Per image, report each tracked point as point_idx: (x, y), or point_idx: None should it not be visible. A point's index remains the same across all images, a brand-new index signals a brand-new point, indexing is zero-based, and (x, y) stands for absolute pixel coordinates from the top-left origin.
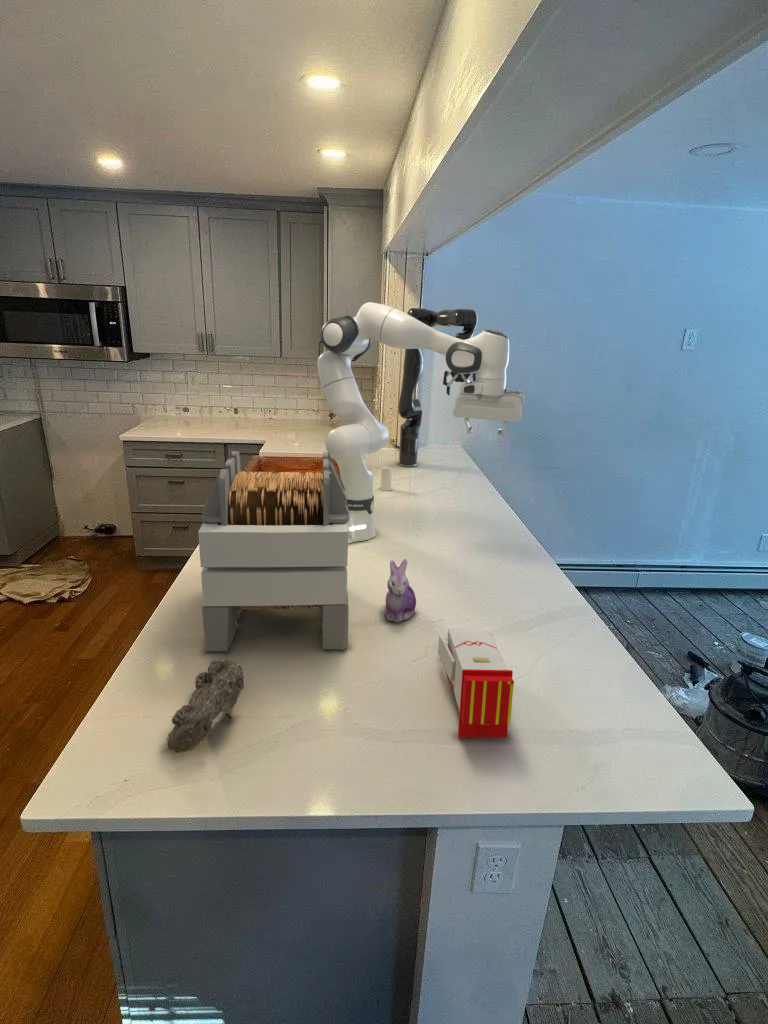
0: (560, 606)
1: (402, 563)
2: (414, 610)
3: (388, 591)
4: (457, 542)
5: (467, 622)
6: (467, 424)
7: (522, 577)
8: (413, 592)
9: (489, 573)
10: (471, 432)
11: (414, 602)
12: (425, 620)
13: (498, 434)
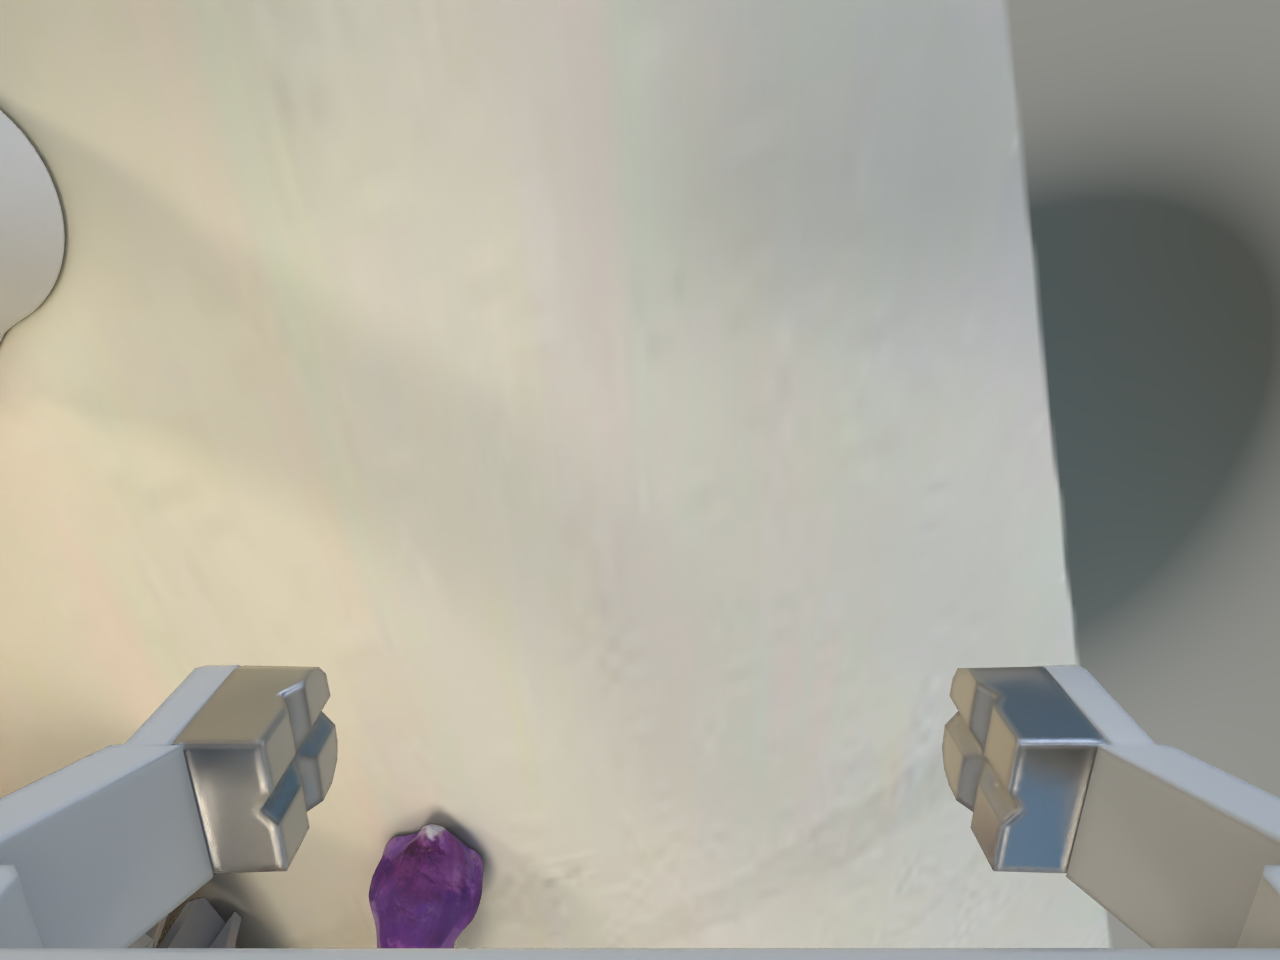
0: None
1: None
2: (482, 874)
3: (372, 912)
4: (546, 146)
5: (659, 863)
6: (112, 943)
7: (883, 501)
8: (459, 910)
9: (734, 502)
10: (332, 772)
11: (475, 912)
12: (527, 881)
13: (955, 783)
